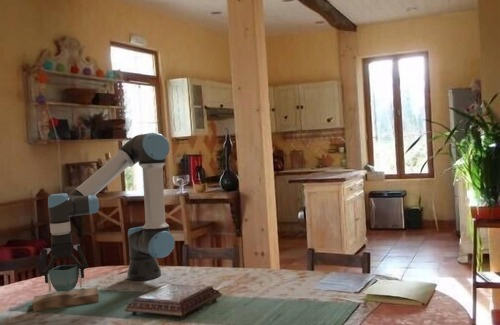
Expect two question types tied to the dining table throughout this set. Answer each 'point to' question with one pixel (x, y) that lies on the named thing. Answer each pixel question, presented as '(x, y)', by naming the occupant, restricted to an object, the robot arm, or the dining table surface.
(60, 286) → the flower pot
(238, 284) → the dining table surface
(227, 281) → the dining table surface
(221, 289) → the dining table surface
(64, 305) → the walnut board
